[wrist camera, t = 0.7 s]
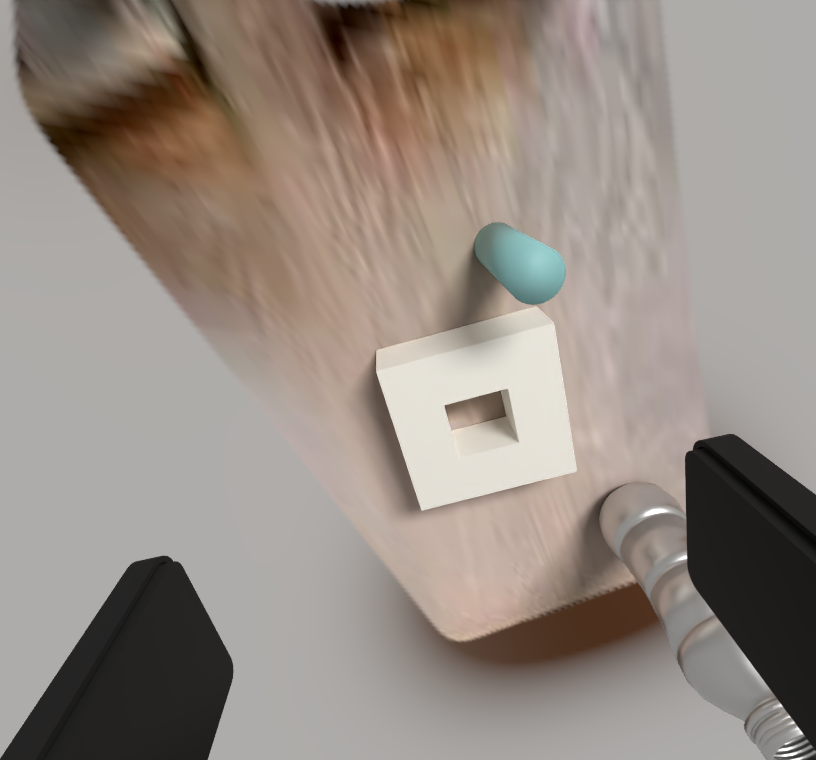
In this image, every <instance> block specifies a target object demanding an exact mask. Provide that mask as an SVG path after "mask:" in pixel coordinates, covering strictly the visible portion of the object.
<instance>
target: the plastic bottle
mask: <svg viewBox="0 0 816 760" xmlns="http://www.w3.org/2000/svg"><path fill="white" fill-rule="evenodd" d="M599 524H600V528H601V531H602V534H603V537H604V539H605V541H606V543H607V545H608V546H609V547H610V548H611V550H612V551H613V552H614V553H615V555H616V556H617V557H618V558H619V559H620V560H621V561H622V562H623V563H624V564H625V565H626V566H627V568H628V569H629V571H630V572H631V573H632V575H633V576H634V577H635V579H636V580H637V582H638V583H639V584H640V586H641V587H642V588H643V590H644V591H645V593H646V595H647V597H648V599H649V600H650V602H651V604H652V606H653V608H654V610H655V612H656V614H657V616H658V618H659V619H660V621H661V623H662V625H663V627H664V630H665V632H666V635H667V637H668V640H669V642H670V645H671V647H672V649H673V652H674V654H675V657H676V659H677V661H678V664H679V666H680V668H681V670H682V672H683V674H684V676H685V678H686V680H687V682H688V683H689V684H690V685H691V686H692V687H693V688H694V689H695V690H696V691H697V692H698V693H699V694H700V695H701V696H702V697H703V698H704V699H705V700H707V701H708V702H710V703H712V704H713V705H715V706H717V707H718V708H720V709H722V710H723V711H725V712H727V713H729V714H731V715H733V716H735V717H737V718H739V719H741V720H743V721H745V724H744V729H745V732H746V733H747V735H748V736H749V738H750V739H751V741H752V742H753V743H754V744H756V745H757V747H758V748H759V750H760V751H761V753H762V754H763V756H764V757H765V759H766V760H816V751H815V749H814V748H813V747H812V745H811V744H810V743H809V741H808V740H807V739H806V737H805V736H804V734H803V733H802V732H801V730H800V729H799V728H798V726H797V725H796V724H795V722H794V721H793V720H792V718H791V717H790V716H789V714H788V713H787V712H786V710H785V709H784V707H783V706H782V705H781V703H780V702H779V701H778V699H777V698H776V697H775V695H774V694H773V693H772V691H771V690H770V689H769V687H768V686H767V684H766V683H765V682H764V680H763V679H762V678H761V676H760V675H759V674H758V672H757V671H756V670H755V668H754V667H753V666H752V664H751V663H750V662H749V660H748V659H747V657H746V656H745V655H744V653H743V652H742V651H741V649H740V648H739V647H738V645H737V644H736V643H735V641H734V640H733V639H732V637H731V636H730V634H729V633H728V632H727V630H726V629H725V628H724V626H723V625H722V624H721V622H720V621H719V620H718V618H717V617H716V616H715V614H714V613H713V612H712V610H711V609H710V607H709V606H708V605H707V603H706V602H705V601H704V599H703V598H702V597H701V595H700V594H699V593H698V591H697V590H696V588H695V587H694V585H693V583H692V581H691V579H690V576H689V573H688V568H687V529H686V514H685V512H684V511H683V509H682V507H681V506H680V504H679V503H678V501H677V500H676V499H675V498H674V497H673V496H671V495H670V494H669V493H668V492H666V491H665V490H664V489H662V488H661V487H660V486H657V485H655V484H650V483H643V482H635V483H629V484H626V485H624V486H621V487H619V488H618V489H616V490H615V491H613V492H612V493H611V494H610V495H609V496H608V497H607V499H606V500H605V501H604V503H603V505H602V509H601V512H600V515H599Z"/></svg>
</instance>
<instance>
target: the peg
mask: <svg viewBox="0 0 816 760" xmlns="http://www.w3.org/2000/svg"><path fill="white" fill-rule="evenodd" d="M474 250H475V254H476V257H477V258H478V260H479V261H480V262H481V263H482V264H483V265H484V266H485V267H486V268H487V269H488V270H489V271H490V272H491V273H492V275H493V276H494V277H495V278H496V279H497V280H498V281H499V282H500V283H501V284H502V285H503V286H504V287H505V288H506V289H507V290H508V291H509V292H510V293H511V294H512V295H513V296H514V297H515V298H516V299H517V300H519V301H520V302H522V303H525V304H532V305H534V304H541V303H544V302H546V301H548V300H550V299H551V298H553V297H554V296H555V295H556V294H557V293H558V292H559V290H560V289H561V287H562V285H563V283H564V280H565V274H566V269H565V264H564V261H563V259H562V257H561V256H560V254H559V253H558V252H557V251H555V250H554V249H552V248H550V247H548V246H546V245H544V244H543V243H541V242H539V241H537V240H535V239H533V238H531V237H529V236H527V235H526V234H524V233H522V232H520V231H518V230H516V229H514V228H512V227H510V226H508V225H507V224H504V223H491V224H489V225H487V226H485V227H484V228H483V229H482V230H481V231H480V232H479V233H478V235H477V237H476V239H475V243H474Z"/></svg>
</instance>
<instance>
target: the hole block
mask: <svg viewBox="0 0 816 760" xmlns="http://www.w3.org/2000/svg"><path fill="white" fill-rule="evenodd" d="M376 373H377V376H378V379H379V382H380V385H381V388H382V391H383V394H384V397H385V400H386V403H387V407H388V410H389V413H390V416H391V419H392V422H393V425H394V428H395V431H396V434H397V437H398V440H399V443H400V446H401V449H402V453H403V456H404V459H405V462H406V465H407V468H408V471H409V474H410V477H411V480H412V483H413V486H414V489H415V492H416V495H417V498H418V502H419V505H420V508H421V511H423V510H427V509H431V508H434V507H438V506H442V505H446V504H450V503H454V502H458V501H462V500H466V499H470V498H474V497H478V496H482V495H486V494H490V493H494V492H498V491H502V490H506V489H510V488H514V487H518V486H522V485H525V484H529V483H533V482H537V481H541V480H545V479H549V478H553V477H557V476H561V475H565V474H569V473H573V472H577V469H576V462H575V456H574V449H573V443H572V436H571V430H570V423H569V417H568V410H567V403H566V397H565V390H564V384H563V377H562V371H561V364H560V358H559V351H558V345H557V338H556V332H555V325H554V322H552V321H551V320H550V319H549V318H548V317H547V316H546V315H545V314H544V313H543V312H542V311H541V310H540V309H539V308H538V307H537V306H535V307H532V308H528V309H524V310H521V311H517V312H513V313H510V314H506V315H503V316H499V317H495V318H492V319H488V320H484V321H481V322H477V323H473V324H470V325H466V326H462V327H459V328H455V329H452V330H448V331H444V332H441V333H437V334H433V335H430V336H426V337H422V338H419V339H415V340H411V341H408V342H404V343H401V344H397V345H393V346H390V347H386V348H382V349H379V350H376ZM500 390H501V394H502V399H503V404H504V408H505V413H506V417H502V418H498V419H494V420H490V421H486V422H483V423H479V424H475V425H471V426H467V427H464V428H460V429H456V430H452V431H451V428H450V424H449V421H448V417H447V413H446V410H445V406H444V405H447V404H451V403H455V402H459V401H463V400H466V399H470V398H474V397H478V396H481V395H485V394H489V393H493V392H496V391H500Z"/></svg>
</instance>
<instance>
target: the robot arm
mask: <svg viewBox="0 0 816 760" xmlns="http://www.w3.org/2000/svg"><path fill="white" fill-rule="evenodd" d="M685 477H686V529H687V568H688V573H689V576H690V579H691V581H692V583H693V585H694V587H695V588H696V590H697V591H698V593H699V594H700V595H701V597H702V598H703V599H704V601H705V602H706V603H707V605H708V606H709V607H710V609H711V610H712V612H713V613H714V614H715V616H716V617H717V618H718V620H719V621H720V622H721V624H722V625H723V626H724V628H725V629H726V630H727V632H728V633H729V634H730V636H731V637H732V639H733V640H734V641H735V643H736V644H737V645H738V647H739V648H740V649H741V651H742V652H743V653H744V655H745V656H746V657H747V659H748V660H749V662H750V663H751V664H752V666H753V667H754V668H755V670H756V671H757V672H758V674H759V675H760V676H761V678H762V679H763V680H764V682H765V683H766V684H767V686H768V687H769V689H770V690H771V691H772V693H773V694H774V695H775V697H776V698H777V699H778V701H779V702H780V703H781V705H782V706H783V707H784V709H785V710H786V712H787V713H788V714H789V716H790V717H791V718H792V720H793V721H794V722H795V724H796V725H797V726H798V728H799V729H800V730H801V732H802V733H803V734H804V736H805V737H806V739H807V740H808V741H809V743H810V744H811V745H812V747H813V748H814V749H815V751H816V495H815V494H814V493H813V492H811V491H810V490H808V489H807V488H806V487H805V486H803V485H802V484H801V483H799V482H798V481H797V480H795V479H794V478H792V477H791V476H790V475H789V474H787V473H786V472H785V471H783V470H782V469H781V468H779V467H778V466H777V465H775V464H774V463H773V462H771V461H770V460H769V459H767V458H766V457H765V456H763V455H762V454H760V453H759V452H758V451H757V450H755V449H754V448H752V447H751V446H750V445H748V444H747V443H746V442H745V441H743V440H742V439H741V438H739V437H738V436H736V435H734V434H727V435H723V436H718V437H713V438H708V439H704V440H699V441H697V442H695V444H694V446H693V451H689V452H687V453H686V456H685ZM232 679H233V663H232V660H231V657H230V655H229V654H228V651H227V650H226V648H225V646H224V644H223V642H222V640H221V638H220V636H219V634H218V632H217V631H216V629H215V627H214V625H213V623H212V621H211V619H210V617H209V615H208V614H207V612H206V610H205V608H204V606H203V604H202V602H201V600H200V598H199V597H198V595H197V593H196V591H195V589H194V587H193V585H192V583H191V581H190V580H189V578H188V576H187V574H186V572H185V570H184V568H183V567H182V565H181V564H180V563H179V562H175V561H174V562H173V560H172V559H171V558H170V557H168V556H160V557H155V558H150V559H146V560H141V561H136V562H134V563H132V564H131V565H130V566H129V567H128V568H127V570H126V571H125V573H124V574H123V576H122V577H121V579H120V580H119V582H118V583H117V585H116V586H115V588H114V589H113V591H112V592H111V594H110V595H109V597H108V598H107V600H106V601H105V603H104V604H103V606H102V607H101V609H100V610H99V612H98V613H97V615H96V616H95V618H94V619H93V621H92V622H91V624H90V625H89V627H88V628H87V630H86V631H85V633H84V635H83V636H82V637H81V639H80V640H79V642H78V643H77V645H76V646H75V648H74V649H73V651H72V652H71V654H70V655H69V657H68V658H67V660H66V661H65V662H64V664H63V665H62V667H61V669H60V670H59V672H58V673H57V675H56V676H55V677H54V679H53V680H52V682H51V683H50V685H49V686H48V688H47V689H46V691H45V692H44V694H43V696H42V697H41V698H40V700H39V701H38V703H37V704H36V706H35V707H34V709H33V711H32V712H31V713H30V715H29V716H28V718H27V719H26V721H25V722H24V724H23V725H22V727H21V728H20V730H19V731H18V733H17V734H16V736H15V737H14V739H13V740H12V742H11V743H10V745H9V746H8V748H7V749H6V751H5V752H4V754H3V756H2V757H1V758H0V760H208V757H209V753H210V750H211V747H212V744H213V741H214V737H215V734H216V731H217V728H218V724H219V721H220V718H221V714H222V712H223V709H224V705H225V702H226V699H227V696H228V692H229V689H230V686H231V683H232Z"/></svg>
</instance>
